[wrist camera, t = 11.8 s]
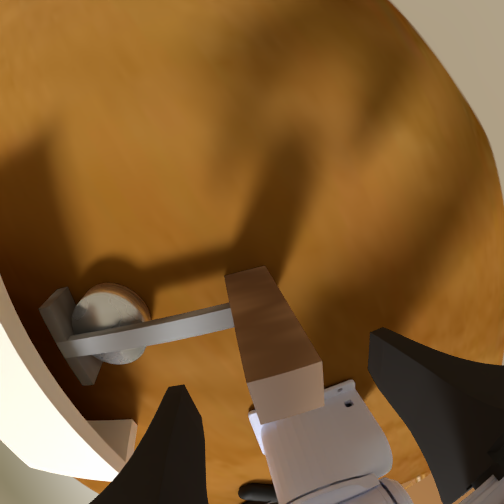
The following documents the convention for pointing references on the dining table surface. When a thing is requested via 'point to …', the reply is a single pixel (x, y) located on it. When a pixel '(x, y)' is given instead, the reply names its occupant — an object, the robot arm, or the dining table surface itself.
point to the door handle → (258, 494)
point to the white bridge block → (51, 413)
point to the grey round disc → (110, 316)
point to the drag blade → (207, 321)
